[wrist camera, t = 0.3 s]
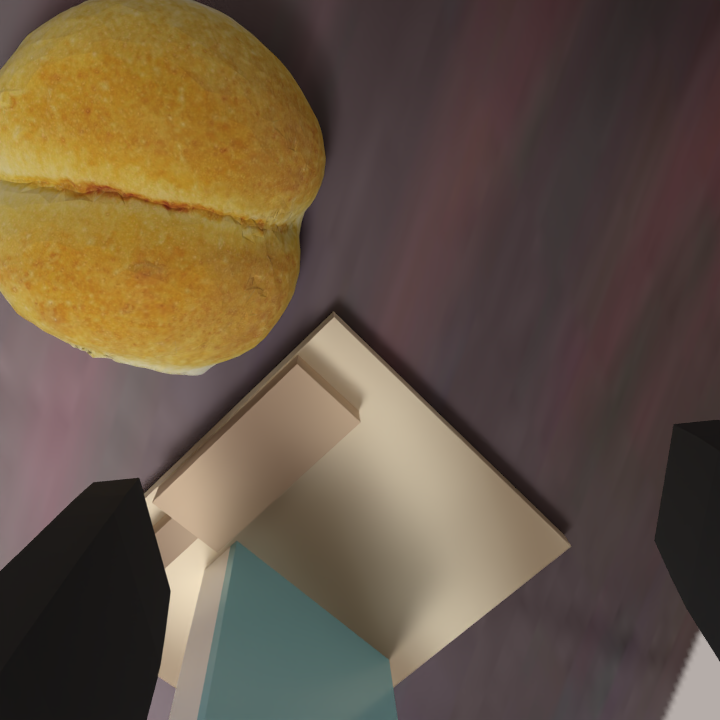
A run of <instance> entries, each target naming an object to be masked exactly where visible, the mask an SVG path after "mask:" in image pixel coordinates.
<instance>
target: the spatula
mask: <svg viewBox="0 0 720 720" xmlns="http://www.w3.org/2000/svg"><path fill="white" fill-rule="evenodd" d="M359 423H361V421H360V415H359V410H357V409H356V408H355V407H354V406H353V405H352V404H351V403H350V402H349V401H348V400H347V399H346V398H344V397H343V396H342V395H341V394H340V393H339V392H338V391H337V390H336V389H335V388H334V387H333V386H331V385H330V384H329V383H328V382H327V381H326V380H325V379H324V378H323V377H322V376H321V375H320V374H318V373H317V372H316V371H315V370H314V369H313V368H312V367H311V366H310V365H309V364H308V363H307V362H305V361H304V360H303V359H302V358H301V357H300V356H299V355H297V356H296V357H295V358H294V359H292V360H291V361H290V362H289V363H288V364H287V365H286V366H285V367H284V368H283V369H282V370H281V371H280V372H279V373H278V374H277V375H276V376H275V377H274V378H273V379H272V380H271V381H270V382H268V383H267V384H266V385H265V386H264V387H263V388H262V389H261V390H260V391H259V392H258V393H257V394H256V395H255V396H254V397H253V398H252V399H251V400H250V401H249V402H248V403H247V404H246V405H244V406H243V407H242V408H241V409H240V410H239V411H238V412H237V413H236V414H235V415H234V416H233V417H232V418H231V419H230V420H229V421H228V422H227V423H226V424H225V425H224V426H223V427H222V428H221V429H219V430H218V431H217V432H216V433H215V434H214V435H213V436H212V437H211V438H210V439H209V440H208V441H207V442H206V443H205V444H204V445H203V446H202V447H201V448H200V449H199V450H198V451H197V452H195V453H194V454H193V455H192V456H191V457H190V458H189V459H188V460H187V461H186V462H185V463H184V464H183V465H182V466H181V467H180V468H179V469H178V470H177V471H176V472H175V473H174V474H173V475H171V476H170V477H169V478H168V479H167V480H166V481H165V482H164V483H163V484H162V485H161V486H160V487H159V488H158V490H157V492H156V494H155V497H154V499H153V502H152V503H153V504H154V505H156V506H157V507H158V508H160V509H161V510H162V511H163V512H165V513H166V514H165V515H164V516H163V517H162V518H161V519H160V520H159V521H158V522H157V523H156V524H155V525H154V526H153V529H154V532H155V536H156V539H157V543H158V547H159V550H160V554H161V557H162V561H163V565H164V568H166V567H167V566H168V565H169V564H171V563H172V562H173V561H174V560H175V559H176V558H177V557H178V556H179V555H180V554H181V553H182V552H184V551H185V550H186V549H187V548H188V547H189V546H190V545H191V544H192V543H193V542H194V541H195V540H197V539H198V538H199V539H200V540H201V541H203V542H204V543H205V544H206V545H208V546H209V547H210V548H212V549H213V550H214V551H216V552H218V551H220V550H221V549H222V548H223V547H224V546H225V545H226V544H227V543H228V542H230V541H231V540H232V539H233V538H234V537H235V536H236V535H237V534H238V533H239V532H241V531H242V530H243V529H244V528H245V527H246V526H247V525H248V524H249V523H250V522H252V521H253V520H254V519H255V518H256V517H257V516H258V515H259V514H260V513H261V512H263V511H264V510H265V509H266V508H267V507H268V506H269V505H270V504H271V503H272V502H274V501H275V500H276V499H277V498H278V497H279V496H280V495H281V494H282V493H283V492H285V491H286V490H287V489H288V488H289V487H290V486H291V485H292V484H293V483H294V482H296V481H297V480H298V479H299V478H300V477H301V476H302V475H303V474H304V473H305V472H307V471H308V470H309V469H310V468H311V467H312V466H313V465H314V464H315V463H316V462H318V461H319V460H320V459H321V458H322V457H323V456H324V455H325V454H326V453H327V452H329V451H330V450H331V449H332V448H333V447H334V446H335V445H336V444H337V443H338V442H340V441H341V440H342V439H343V438H344V437H345V436H346V435H347V434H348V433H350V432H351V431H352V430H353V429H354V428H355V427H356V426H357V425H358V424H359Z"/></svg>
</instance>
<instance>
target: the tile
mask: <svg viewBox="0 0 720 720" xmlns="http://www.w3.org/2000/svg"><path fill="white" fill-rule="evenodd" d="M169 720H398V718H397V711H396V704H395V697H394V690H393V683H392V676H391V669H390V662H389V659H387V658H386V657H385V656H384V655H382V654H381V653H380V652H378V651H377V650H376V649H375V648H373V647H372V646H371V645H370V644H368V643H367V642H366V641H364V640H363V639H362V638H361V637H359V636H358V635H357V634H355V633H354V632H353V631H352V630H350V629H349V628H348V627H347V626H345V625H344V624H343V623H341V622H340V621H339V620H338V619H336V618H335V617H334V616H333V615H331V614H330V613H329V612H327V611H326V610H325V609H324V608H322V607H321V606H320V605H318V604H317V603H316V602H315V601H313V600H312V599H311V598H310V597H308V596H307V595H306V594H304V593H303V592H302V591H301V590H299V589H298V588H297V587H295V586H294V585H293V584H292V583H290V582H289V581H288V580H287V579H285V578H284V577H283V576H281V575H280V574H279V573H278V572H276V571H275V570H274V569H273V568H271V567H270V566H269V565H267V564H266V563H265V562H264V561H262V560H261V559H260V558H258V557H257V556H256V555H255V554H253V553H252V552H251V551H250V550H248V549H247V548H246V547H244V546H243V545H242V544H241V543H239V542H238V541H236V542H235V543H234V544H233V545H231V546H230V547H229V548H228V549H227V550H226V551H225V552H224V553H223V554H221V555H220V556H219V557H218V558H217V559H216V560H215V561H214V562H213V563H212V564H210V565H209V566H208V567H207V568H206V569H205V570H204V574H203V578H202V582H201V587H200V591H199V595H198V599H197V603H196V607H195V612H194V616H193V620H192V624H191V628H190V632H189V637H188V641H187V645H186V649H185V653H184V657H183V662H182V666H181V670H180V674H179V678H178V682H177V687H176V691H175V695H174V699H173V703H172V707H171V712H170V716H169Z"/></svg>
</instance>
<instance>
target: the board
mask: <svg viewBox="0 0 720 720" xmlns="http://www.w3.org/2000/svg"><path fill="white" fill-rule="evenodd" d="M297 355H299V356H300V357H301V358H302V359H303V360H304V361H305V362H307V363H308V364H309V365H310V366H311V367H312V368H313V369H314V370H315V371H316V372H317V373H318V374H320V375H321V376H322V377H323V378H324V379H325V380H326V381H327V382H328V383H329V384H330V385H331V386H333V387H334V388H335V389H336V390H337V391H338V392H339V393H340V394H341V395H342V396H343V397H344V398H346V399H347V400H348V401H349V402H350V403H351V404H352V405H353V406H354V407H355V408H356V409H357V410H359V415H360V421H361V423H359V424H358V425H357V426H356V427H355V428H354V429H353V430H352V431H351V432H350V433H348V434H347V435H346V436H345V437H344V438H343V439H342V440H341V441H340V442H338V443H337V444H336V445H335V446H334V447H333V448H332V449H331V450H330V451H329V452H327V453H326V454H325V455H324V456H323V457H322V458H321V459H320V460H319V461H318V462H316V463H315V464H314V465H313V466H312V467H311V468H310V469H309V470H308V471H307V472H305V473H304V474H303V475H302V476H301V477H300V478H299V479H298V480H297V481H296V482H294V483H293V484H292V485H291V486H290V487H289V488H288V489H287V490H286V491H285V492H283V493H282V494H281V495H280V496H279V497H278V498H277V499H276V500H275V501H274V502H272V503H271V504H270V505H269V506H268V507H267V508H266V509H265V510H264V511H263V512H261V513H260V514H259V515H258V516H257V517H256V518H255V519H254V520H253V521H252V522H250V523H249V524H248V525H247V526H246V527H245V528H244V529H243V530H242V531H241V532H239V533H238V534H237V535H236V536H235V537H234V538H233V539H232V540H231V541H230V542H228V543H227V544H226V545H225V546H224V547H223V548H222V549H221V550H220V551H218V552H216V551H214V550H213V549H212V548H210V547H209V546H208V545H206V544H205V543H204V542H203V541H201V540H200V539H199V538H198V539H197V540H195V541H194V542H193V543H192V544H191V545H190V546H189V547H188V548H187V549H186V550H185V551H184V552H182V553H181V554H180V555H179V556H178V557H177V558H176V559H175V560H174V561H173V562H172V563H171V564H169V565H168V566H167V567H166V568H165V572H166V575H167V579H168V583H169V586H170V590H171V594H170V602H169V610H168V618H167V626H166V633H165V640H164V647H163V653H162V660H161V666H160V670H159V674H158V676H159V677H160V678H162V679H163V680H164V681H166V682H167V683H169V684H170V685H172V686H173V687H175V688H176V687H177V682H178V678H179V674H180V670H181V666H182V662H183V657H184V653H185V649H186V645H187V641H188V637H189V632H190V628H191V624H192V620H193V616H194V612H195V607H196V603H197V599H198V595H199V591H200V587H201V582H202V578H203V574H204V570H205V569H206V568H207V567H208V566H209V565H210V564H212V563H213V562H214V561H215V560H216V559H217V558H218V557H219V556H220V555H221V554H223V553H224V552H225V551H226V550H227V549H228V548H229V547H230V546H231V545H233V544H234V543H235V542H236V541H238V542H239V543H241V544H242V545H243V546H244V547H246V548H247V549H248V550H250V551H251V552H252V553H253V554H255V555H256V556H257V557H258V558H260V559H261V560H262V561H264V562H265V563H266V564H267V565H269V566H270V567H271V568H273V569H274V570H275V571H276V572H278V573H279V574H280V575H281V576H283V577H284V578H285V579H287V580H288V581H289V582H290V583H292V584H293V585H294V586H295V587H297V588H298V589H299V590H301V591H302V592H303V593H304V594H306V595H307V596H308V597H310V598H311V599H312V600H313V601H315V602H316V603H317V604H318V605H320V606H321V607H322V608H324V609H325V610H326V611H327V612H329V613H330V614H331V615H333V616H334V617H335V618H336V619H338V620H339V621H340V622H341V623H343V624H344V625H345V626H347V627H348V628H349V629H350V630H352V631H353V632H354V633H355V634H357V635H358V636H359V637H361V638H362V639H363V640H364V641H366V642H367V643H368V644H370V645H371V646H372V647H373V648H375V649H376V650H377V651H378V652H380V653H381V654H382V655H384V656H385V657H386V658H387V659H389V662H390V669H391V676H392V683H393V687H395V686H396V685H397V684H398V683H400V682H401V681H402V680H403V679H405V678H406V677H407V676H408V675H410V674H411V673H412V672H413V671H415V670H416V669H417V668H418V667H420V666H421V665H422V664H424V663H425V662H426V661H427V660H429V659H430V658H431V657H432V656H434V655H435V654H436V653H437V652H439V651H440V650H441V649H442V648H444V647H445V646H446V645H447V644H449V643H450V642H451V641H453V640H454V639H455V638H456V637H458V636H459V635H460V634H461V633H463V632H464V631H465V630H466V629H468V628H469V627H470V626H471V625H473V624H474V623H475V622H476V621H478V620H479V619H480V618H481V617H483V616H484V615H485V614H487V613H488V612H489V611H490V610H492V609H493V608H494V607H495V606H497V605H498V604H499V603H500V602H502V601H503V600H504V599H505V598H507V597H508V596H509V595H510V594H512V593H513V592H514V591H516V590H517V589H518V588H519V587H521V586H522V585H523V584H524V583H526V582H527V581H528V580H529V579H531V578H532V577H533V576H534V575H536V574H537V573H538V572H539V571H541V570H542V569H543V568H544V567H546V566H547V565H548V564H550V563H551V562H552V561H553V560H555V559H556V558H557V557H558V556H560V555H561V554H562V553H563V552H565V551H566V550H567V549H568V548H570V547H571V545H570V543H569V542H568V540H567V538H566V537H565V535H564V534H563V533H562V532H561V531H560V530H558V529H557V528H556V527H555V526H554V525H553V524H552V523H551V522H550V521H549V520H548V519H547V518H546V517H545V516H544V515H543V514H542V513H541V512H540V511H539V510H538V509H537V508H536V507H535V506H534V505H533V504H532V503H531V502H530V501H529V500H528V499H527V498H525V497H524V496H523V495H522V494H521V493H520V492H519V491H518V490H517V489H516V488H515V487H514V486H513V485H512V484H511V483H510V482H509V481H508V480H507V479H506V478H505V477H504V476H503V475H502V474H501V473H500V472H499V471H498V470H497V469H496V468H495V467H493V466H492V465H491V464H490V463H489V462H488V461H487V460H486V459H485V458H484V457H483V456H482V455H481V454H480V453H479V452H478V451H477V450H476V449H475V448H474V447H473V446H472V445H471V444H470V443H469V442H468V441H467V440H466V439H465V438H464V437H463V436H462V435H460V434H459V433H458V432H457V431H456V430H455V429H454V428H453V427H452V426H451V425H450V424H449V423H448V422H447V421H446V420H445V419H444V418H443V417H442V416H441V415H440V414H439V413H438V412H437V411H436V410H435V409H434V408H433V407H432V406H431V405H430V404H429V403H427V402H426V401H425V400H424V399H423V398H422V397H421V396H420V395H419V394H418V393H417V392H416V391H415V390H414V389H413V388H412V387H411V386H410V385H409V384H408V383H407V382H406V381H405V380H404V379H403V378H402V377H401V376H400V375H399V374H398V373H397V372H395V371H394V370H393V369H392V368H391V367H390V366H389V365H388V364H387V363H386V362H385V361H384V360H383V359H382V358H381V357H380V356H379V355H378V354H377V353H376V352H375V351H374V350H373V349H372V348H371V347H370V346H369V345H368V344H367V343H366V342H365V341H364V340H362V339H361V338H360V337H359V336H358V335H357V334H356V333H355V332H354V331H353V330H352V329H351V328H350V327H349V326H348V325H347V324H346V323H345V322H344V321H343V320H342V319H341V318H340V317H339V316H338V315H337V314H336V313H335V312H334V311H333V312H332V313H331V314H330V315H329V316H328V317H327V318H326V319H325V320H324V321H323V322H322V323H321V324H320V325H319V326H318V327H317V328H316V329H315V330H314V331H313V332H312V333H310V334H309V335H308V336H307V337H306V338H305V339H304V340H303V341H302V342H301V343H300V344H299V345H298V346H297V347H296V348H295V349H294V350H293V351H292V352H291V353H290V354H289V355H288V356H287V357H286V358H285V359H283V360H282V361H281V362H280V363H279V364H278V365H277V366H276V367H275V368H274V369H273V370H272V371H271V372H270V373H269V374H268V375H267V376H266V377H265V378H264V379H263V380H262V381H261V382H260V383H259V384H257V385H256V386H255V387H254V388H253V389H252V390H251V391H250V392H249V393H248V394H247V395H246V396H245V397H244V398H243V399H242V400H241V401H240V402H239V403H238V404H237V405H236V406H235V407H234V408H233V409H232V410H230V411H229V412H228V413H227V414H226V415H225V416H224V417H223V418H222V419H221V420H220V421H219V422H218V423H217V424H216V425H215V426H214V427H213V428H212V429H211V430H210V431H209V432H208V433H207V434H206V435H204V436H203V437H202V438H201V439H200V440H199V441H198V442H197V443H196V444H195V445H194V446H193V447H192V448H191V449H190V450H189V451H188V452H187V453H186V454H185V455H184V456H183V457H182V458H181V459H180V460H179V461H177V462H176V463H175V464H174V465H173V466H172V467H171V468H170V469H169V470H168V471H167V472H166V473H165V474H164V475H163V476H162V477H161V478H160V479H159V480H158V481H157V482H156V483H155V484H154V485H153V486H151V487H150V488H149V489H148V490H147V491H146V492H145V493H144V496H145V500H146V504H147V507H148V511H149V514H150V518H151V522H152V525H153V526H154V525H155V524H156V523H157V522H158V521H159V520H160V519H161V518H162V517H163V516H164V515H165V514H166V513H165V512H163V511H162V510H161V509H160V508H158V507H157V506H156V505H154V504H153V503H152V502H153V499H154V497H155V494H156V492H157V490H158V488H159V487H160V486H161V485H162V484H163V483H164V482H165V481H166V480H167V479H168V478H169V477H170V476H171V475H173V474H174V473H175V472H176V471H177V470H178V469H179V468H180V467H181V466H182V465H183V464H184V463H185V462H186V461H187V460H188V459H189V458H190V457H191V456H192V455H193V454H194V453H195V452H197V451H198V450H199V449H200V448H201V447H202V446H203V445H204V444H205V443H206V442H207V441H208V440H209V439H210V438H211V437H212V436H213V435H214V434H215V433H216V432H217V431H218V430H219V429H221V428H222V427H223V426H224V425H225V424H226V423H227V422H228V421H229V420H230V419H231V418H232V417H233V416H234V415H235V414H236V413H237V412H238V411H239V410H240V409H241V408H242V407H243V406H244V405H246V404H247V403H248V402H249V401H250V400H251V399H252V398H253V397H254V396H255V395H256V394H257V393H258V392H259V391H260V390H261V389H262V388H263V387H264V386H265V385H266V384H267V383H268V382H270V381H271V380H272V379H273V378H274V377H275V376H276V375H277V374H278V373H279V372H280V371H281V370H282V369H283V368H284V367H285V366H286V365H287V364H288V363H289V362H290V361H291V360H292V359H294V358H295V357H296V356H297Z"/></svg>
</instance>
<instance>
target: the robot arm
mask: <svg viewBox="0 0 720 720" xmlns="http://www.w3.org/2000/svg"><path fill="white" fill-rule="evenodd" d="M654 541H655V543H656V545H657V547H658V549H659V552H660V554H661V556H662V558H663V560H664V563H665V565H666V567H667V569H668V571H669V574H670V576H671V578H672V580H673V582H674V584H675V586H676V588H677V590H678V592H679V594H680V596H681V598H682V600H683V602H684V604H685V606H686V608H687V610H688V612H689V613H690V615H691V616H692V618H693V620H694V621H695V623H696V625H697V626H698V628H699V629H700V631H701V632H702V634H703V636H704V637H705V639H706V640H707V641H708V643H709V645H710V647H711V648H712V650H713V651H714V653H715V654H716V656H717V657H718V659H719V661H720V420H712V421H702V422H692V423H682V424H674V426H673V432H672V438H671V444H670V450H669V456H668V462H667V468H666V474H665V480H664V486H663V492H662V498H661V504H660V510H659V516H658V522H657V528H656V534H655V540H654ZM170 594H171V590H170V586H169V583H168V579H167V575H166V572H165V568H164V565H163V561H162V557H161V554H160V550H159V547H158V543H157V539H156V536H155V532H154V529H153V525H152V522H151V518H150V514H149V511H148V507H147V504H146V500H145V496H144V493H143V489H142V486H141V482H140V479H139V478H133V479H123V480H113V481H103V482H93V483H92V484H91V485H90V486H89V487H88V488H87V489H85V490H84V491H83V492H82V493H81V494H80V495H79V496H78V497H77V498H75V499H74V500H73V501H72V502H71V503H70V504H69V505H68V506H67V507H66V508H65V509H64V510H63V511H62V512H61V513H60V514H59V515H58V516H57V517H56V518H55V519H54V520H53V521H52V522H51V523H50V524H49V525H47V526H46V527H45V528H44V529H43V530H42V531H41V532H40V533H39V534H38V535H37V536H36V537H35V538H34V539H33V540H32V541H31V542H30V543H29V544H28V545H27V546H26V547H25V548H24V549H23V550H22V551H21V552H20V553H19V554H18V555H17V556H15V557H14V558H13V559H12V560H11V561H10V562H9V563H8V564H7V565H6V566H5V567H4V568H3V569H2V570H1V571H0V720H147V716H148V713H149V709H150V705H151V701H152V697H153V693H154V690H155V686H156V682H157V678H158V674H159V670H160V666H161V660H162V653H163V647H164V640H165V633H166V626H167V618H168V610H169V602H170Z"/></svg>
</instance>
